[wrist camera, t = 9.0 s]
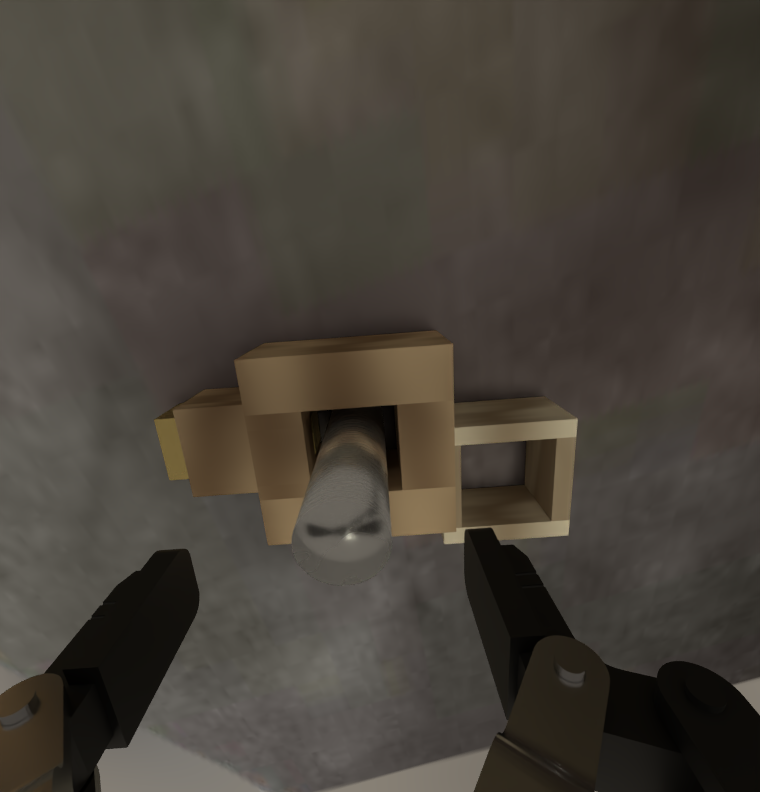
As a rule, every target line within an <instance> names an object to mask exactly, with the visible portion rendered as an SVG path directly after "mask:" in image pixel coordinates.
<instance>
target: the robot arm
mask: <svg viewBox="0 0 760 792" xmlns="http://www.w3.org/2000/svg"><path fill="white" fill-rule="evenodd" d="M464 575H465V585H466V590H467V595H468V598H469V601H470V605H471V608H472V611H473V614H474V617H475V621H476V624H477V627H478V630H479V633H480V637H481V640H482V643H483V646H484V649H485V652H486V656H487V659H488V662H489V665H490V668H491V672H492V675H493V678H494V681H495V684H496V687H497V691H498V694H499V697H500V700H501V703H502V707H503V710H504V713H505V716H506V719H507V720H508V722H507V725H506V728H505V730H504V732H503V733H500V732H499V733H497V735H496V736H495V738H494V740H493V742H492V744H491V747H490V750H489V752H488V755H487V758H486V760H485V763H484V766H483V768H482V771H481V774H480V776H479V779H478V782H477V784H476V787H475V790H474V792H594V791H598V792H760V715H759V714H758V713H757V712H756V711H755V709H754V708H753V707H752V706H751V704H750V703H749V702H748V701H747V700H746V699H745V697H744V696H743V695H742V694H741V693H740V692H739V691H738V690H737V689H736V688H735V687H734V686H733V685H732V684H730V683H729V682H728V681H726V680H725V679H724V678H722V677H721V676H719V675H718V674H716V673H714V672H712V671H711V670H709V669H707V668H704V667H702V666H699V665H696V664H693V663H689V662H684V661H673V662H669V663H666V664H664V665H663V666H662V667H661V668H660V669H659V671H658V674H657V678H655V677H651V676H646V675H642V674H638V673H633V672H629V671H624V670H621V669H617V668H614V667H611V666H609V665H607V664H605V663H604V662H603V661H602V660H601V658H600V657H599V656H598V655H597V654H596V653H595V652H594V651H593V650H592V649H591V648H589V647H588V646H587V645H585V644H584V643H582V642H580V641H578V640H576V639H575V638H574V636H573V635H572V633H571V631H570V629H569V628H568V626H567V624H566V623H565V621H564V619H563V617H562V616H561V614H560V612H559V610H558V609H557V607H556V605H555V603H554V602H553V600H552V598H551V597H550V595H549V593H548V591H547V590H546V588H545V587H544V586H543V583H542V581H541V579H540V577H539V576H538V575H537V574H536V570H535V569H534V567H533V565H532V564H531V562H530V560H529V558H528V557H527V556H526V555H525V554H524V553H523V552H521V551H520V550H519V549H518V548H516V547H515V546H514V545H500V543H499V541H498V539H497V537H496V535H495V533H494V531H493V529H492V528H491V527H488V528H475V529H465V533H464ZM198 606H199V589H198V585H197V581H196V577H195V573H194V569H193V565H192V561H191V557H190V553H189V551H188V550H187V549H173V550H160V551H156V552H155V553H154V554H153V555H152V557H151V558H150V559H149V560H148V562H147V563H146V564H145V565H144V567H143V568H142V569H141V571H135V572H134V573H133V574H131V575H130V576H129V577H127V578H126V579H125V580H123V581H122V582H121V583H120V584H118V585H117V586H116V587H115V588H114V590H113V591H112V592H111V593H110V594H109V596H108V597H107V598H106V599H105V600H104V602H103V605H100V606H99V608H98V609H97V610H96V611H95V613H94V614H93V615H92V618H91V620H88V621H87V622H86V623H85V625H84V626H83V627H82V628H81V629H80V631H79V632H78V633H77V634H76V635H75V637H74V638H73V639H72V640H71V641H70V643H69V644H68V645H67V646H66V648H65V649H64V650H63V651H62V652H61V654H60V655H59V656H58V657H57V658H56V660H55V661H54V662H53V663H52V664H51V666H50V667H49V668H48V669H47V670H46V672H45V673H44V674H40V675H36V676H33V677H30V678H28V679H26V680H24V681H21V682H20V683H18V684H16V685H14V686H12V687H11V688H9V689H8V690H6V691H5V692H4V693H2V694H1V695H0V792H101V785H100V774H99V769H98V767H97V763H98V761H99V760H100V758H101V756H102V754H103V752H104V750H105V749H113V748H126V747H128V745H129V744H130V742H131V740H132V737H133V736H134V734H135V732H136V730H137V728H138V726H139V724H140V722H141V720H142V718H143V716H144V715H145V713H146V711H147V709H148V707H149V705H150V703H151V701H152V699H153V697H154V695H155V693H156V691H157V689H158V688H159V686H160V684H161V682H162V680H163V678H164V676H165V674H166V672H167V670H168V668H169V666H170V664H171V662H172V660H173V659H174V657H175V655H176V653H177V651H178V649H179V647H180V645H181V643H182V641H183V639H184V637H185V635H186V633H187V631H188V630H189V628H190V626H191V624H192V622H193V620H194V618H195V616H196V613H197V610H198Z"/></svg>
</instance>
